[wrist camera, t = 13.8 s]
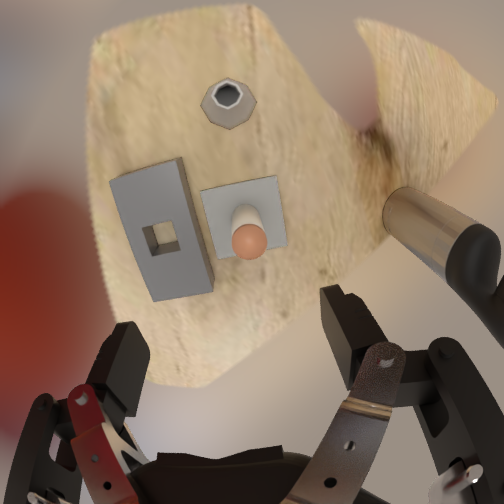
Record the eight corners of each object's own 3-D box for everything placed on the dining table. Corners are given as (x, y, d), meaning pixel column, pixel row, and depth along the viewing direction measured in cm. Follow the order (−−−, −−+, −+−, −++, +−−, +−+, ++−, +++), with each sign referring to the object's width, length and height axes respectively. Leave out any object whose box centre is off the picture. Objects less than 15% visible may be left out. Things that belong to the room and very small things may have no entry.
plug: (255, 201, 39) (263, 222, 30) (261, 226, 41) (270, 255, 32) (228, 207, 39) (227, 231, 30) (235, 233, 41) (236, 263, 32)
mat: (275, 175, 38) (276, 175, 38) (286, 244, 43) (287, 245, 42) (200, 190, 38) (199, 191, 38) (218, 257, 43) (217, 259, 43)
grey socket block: (181, 156, 36) (175, 160, 32) (214, 278, 45) (213, 291, 41) (119, 175, 36) (108, 181, 33) (158, 288, 45) (153, 302, 41)
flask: (266, 102, 34) (277, 93, 25) (230, 138, 36) (229, 141, 27) (227, 69, 31) (225, 50, 22) (191, 106, 33) (177, 99, 24)
